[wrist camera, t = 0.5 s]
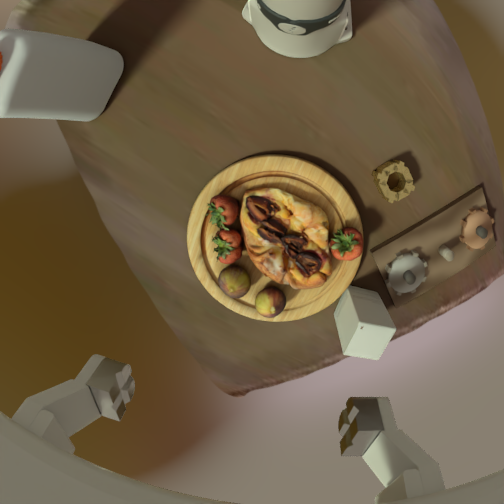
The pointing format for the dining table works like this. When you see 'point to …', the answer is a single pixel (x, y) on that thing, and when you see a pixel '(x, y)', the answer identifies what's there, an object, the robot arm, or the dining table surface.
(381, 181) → the brass gear
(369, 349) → the supplement box
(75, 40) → the plastic bottle
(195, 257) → the wooden plate with food
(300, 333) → the dining table surface
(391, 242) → the gear board
